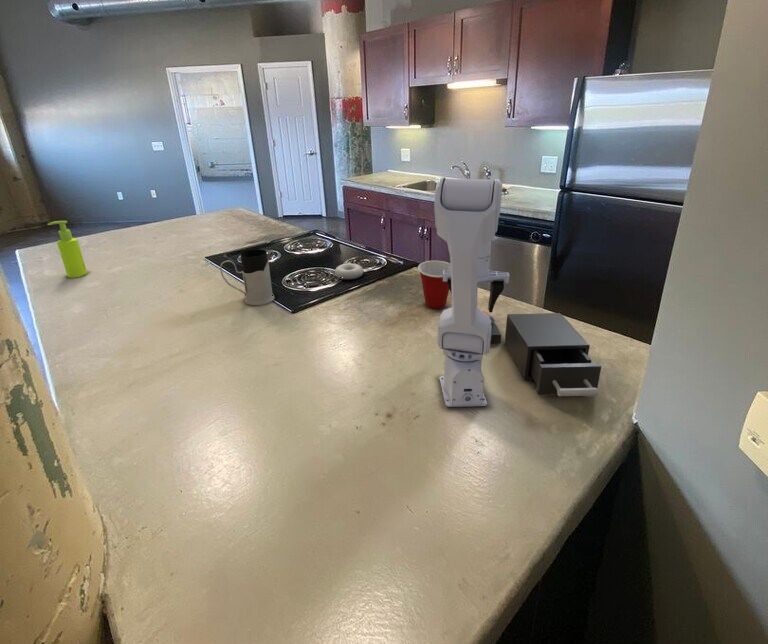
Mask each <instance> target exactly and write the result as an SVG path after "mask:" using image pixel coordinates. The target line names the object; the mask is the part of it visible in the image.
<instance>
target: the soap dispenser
mask: <svg viewBox="0 0 768 644" xmlns="http://www.w3.org/2000/svg"><path fill="white" fill-rule="evenodd" d="M66 224H68V220H55V221H51V222H48V223H47V226H52V225H59V228H60V230H58V235H59V240H56V243H57V248H58V250H59V253H60V257H61V260H62V263H63V266H64V269H65V272H66V276H67V278H70V279H72V278H80V277H83V276H85V275H87V274H88V271H87V268H86V263H85V260H84V256H83V254H82V250H81V247H80V244H79V241H78V238H77V237H73V235H72V232H71V229H69V228H67V225H66Z"/></svg>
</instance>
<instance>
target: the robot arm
mask: <svg viewBox="0 0 768 644" xmlns="http://www.w3.org/2000/svg"><path fill="white" fill-rule="evenodd" d="M502 196H503V182H502V181H501V180H500V178H495V179H485V178H483V179H481V178H479V179H478V178H446V177H445V176H444V177H442V176H441V177H440V178H439V180H437V182H436V185H435V190H434V200H433V201H434V206H433V207H434V208H433V209H434V224H435V228H436V233H437V234H436V235H437V236H438V237H440V238H441V239H442V240H443V241H445V242H446V244H447V249H448V253H449V260H450V262H449V263H451V270H449V271H443V281H448V287H449V293H450V294H451V306H450V307H448V308H445V309H444V310H442V311H441V313H440V316H439V320H438V324H437V339H436V341H437V342H436V343H437V346H438V348H439V349H440V350H443V351H442V354H443V355H444V367H443V368H444V369H443V370H444V371H443V375H440V376H439V382H440V387H441V392H442V395H443V400H444V404H445V406H446V407H447V408H460V407H461V408H464V407H486V406H488V401H487V399H486V395H485V393H484V387H485V376H484V373H483V370H482V364H483V356H487V355H488V354H489V353H490V351H491V343H490V341H491V330H492V325H491V320H490V316H491V315H490V314H491V313H493V311H494V309H495V308H494V307H495V305H496V302H497V301H498V299H499V297H500V296H501V294H502V292H503V291H504V289H505V284H509V283H510V276H511V275H510V273H509V272H508V271H507V272H506V271H497V270H490V264H491V250H492V241H493V240H494V239H495V236H496V233H497V232H498V226H499V218H500V215H501V207H502ZM479 282H484V283H485V282H486V283H487V282H488V283H489V282H490V283H489V298H488V304H487V305H488V306H487V308H488V313H490V314H488V315H487V314H486V313H484V312H485V311H484V312H482V311H483V310H481V309H479V308H478V292H479V291H478V287H479Z"/></svg>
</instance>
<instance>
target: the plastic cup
mask: <svg viewBox="0 0 768 644" xmlns="http://www.w3.org/2000/svg"><path fill="white" fill-rule="evenodd" d="M417 270H418V272H419V275H420V279H421V285H422V292H423V297H424V302H425V306H426V307H428V308H430V309H434V310H438V309H443V308H444V307H446V304H447V301H448V297H449V294H450V290H449V287H448V281H443V271H449V270H451V263H450V262H447V261H444V260H426V261H423V262H421V263H419V264H418V265H417Z"/></svg>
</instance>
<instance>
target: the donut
mask: <svg viewBox="0 0 768 644" xmlns="http://www.w3.org/2000/svg"><path fill="white" fill-rule="evenodd" d="M334 274H336V275H337V276H340V277H343V278H340V277H337V276H336V275H335V276H336V277H337V278H338V279H340V280H345V281H347V280H348V281H349V280H351V281H352V280H357V279H359V278H361V277H362V276H363V274H364V268H363V266H361V265H360V264H358V263H350V262H349V263H342V264H340V265H338V266H336V267H335V269H334Z"/></svg>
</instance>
